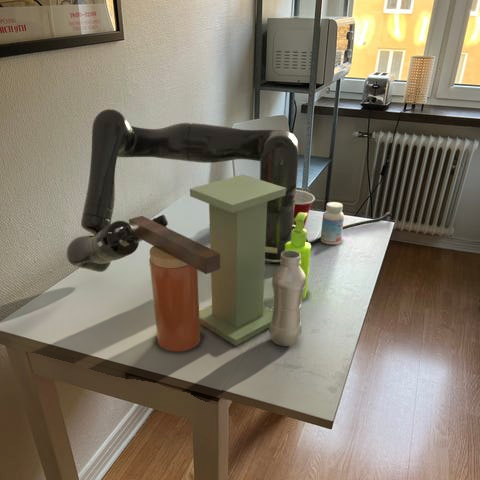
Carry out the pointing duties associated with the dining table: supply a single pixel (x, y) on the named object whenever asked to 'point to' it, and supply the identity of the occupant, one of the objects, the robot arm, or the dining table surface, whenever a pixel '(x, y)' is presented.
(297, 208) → the plastic cup
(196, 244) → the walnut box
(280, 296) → the plastic bottle
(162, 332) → the terracotta jar
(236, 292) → the plant stand
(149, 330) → the dining table surface
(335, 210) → the pill bottle
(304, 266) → the soap dispenser
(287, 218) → the robot arm
